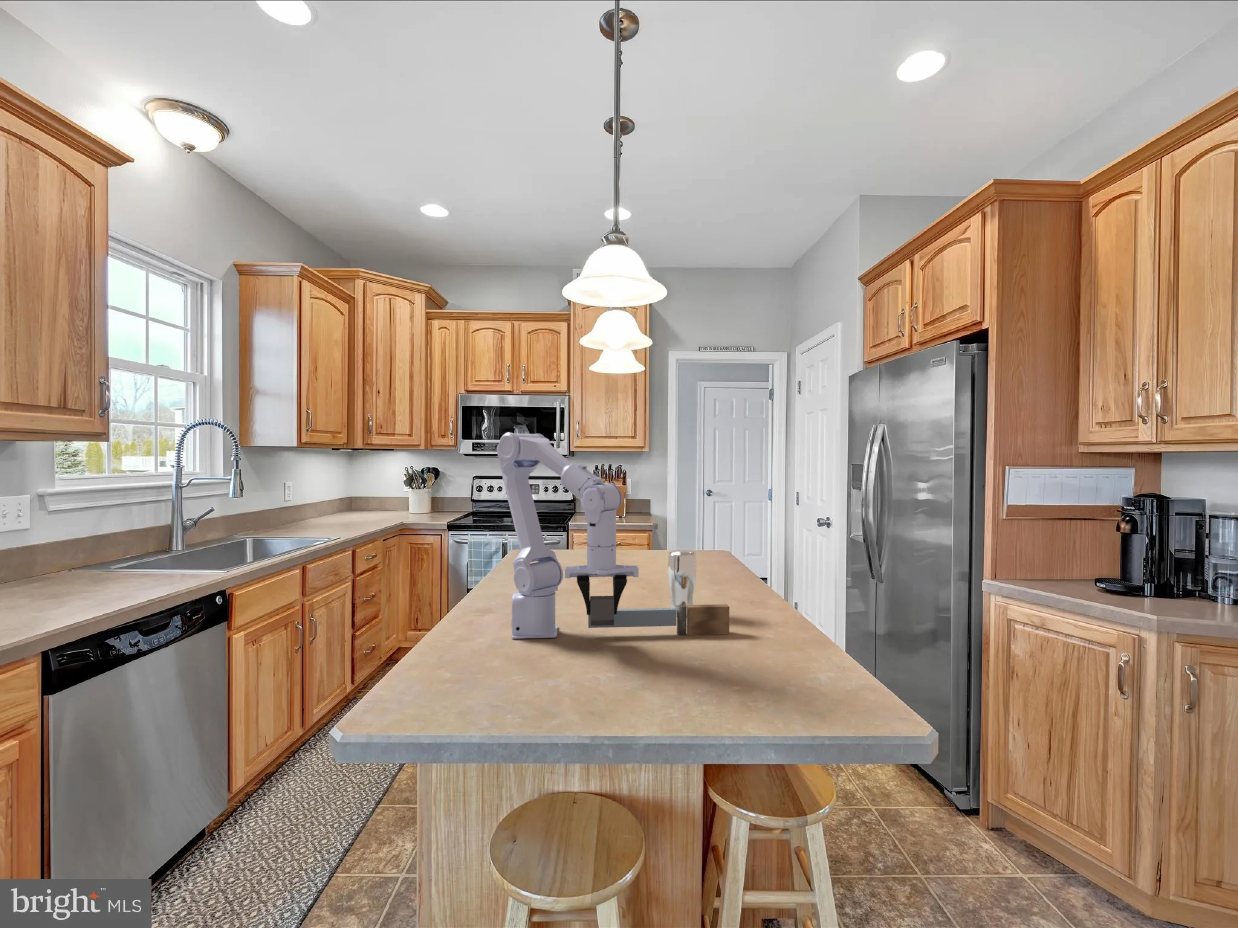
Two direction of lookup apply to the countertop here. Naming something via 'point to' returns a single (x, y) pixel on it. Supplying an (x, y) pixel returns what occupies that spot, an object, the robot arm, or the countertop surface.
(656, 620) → the long pale blue beam
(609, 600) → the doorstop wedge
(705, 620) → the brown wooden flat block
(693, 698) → the countertop surface
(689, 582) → the beer glass
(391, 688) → the countertop surface
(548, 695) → the countertop surface
